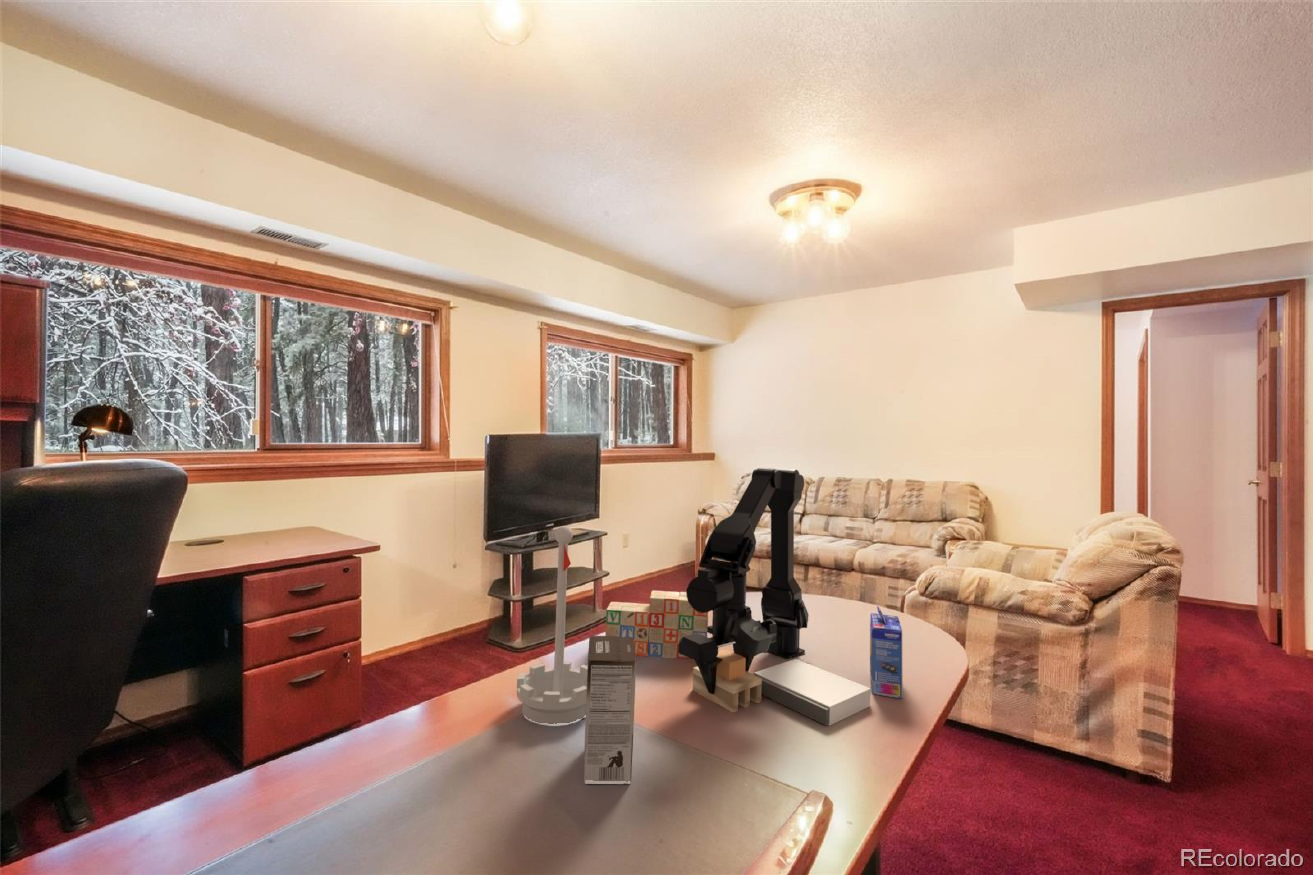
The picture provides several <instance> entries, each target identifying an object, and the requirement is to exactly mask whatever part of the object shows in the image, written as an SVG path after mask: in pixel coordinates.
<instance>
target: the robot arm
mask: <svg viewBox="0 0 1313 875" xmlns="http://www.w3.org/2000/svg"><path fill="white" fill-rule="evenodd" d="M804 487H805V479H804V476H803V475H802V474H800V471H799V470H798V469H791V468H790V469H788V468H772V467H771V468H763V467H762V468H761V467H759V468H755V469H753V471H752V473H751V480H750V481H749V484H748V485H747V487H746V488H745V491H744V492H743V494H742V495H741V498H740V499H739V501H738V503H737V505H736V506H735V508H734V511H733V512H732V513H731V515H729V516H728V517H726V518H724V519H723V520H720V521H719V523H717V525H716V526H715V528H713V530H712V532H711V534H710V535H709V536H708V540H707V541H706V544H705V547H704V549H703V553H702V556H701V558H700V561H699V564H698V567H699V569H698V570H697V576H696V577H694V578H692V580H690V581H689V583H688V585H687V588H686V590H685V592H686V595H687V599H688V602H689V604H690V605H691V606H692V608H693V609H695V610H696V611H698V612H701V613H706V612H708V613H709V612H711V611H712V621H711V622H712V623H711V625H708V627H707V634H710V635H711V637H708V636H707V637H705V636H703V635H701V634H698V633H696V634H692V635H687V636H683V637H682V638H681V639H680V640H679V652H678V653H680V654H682V655H684V656H686V657H688V658H690V659H689V660H691V661H694V662H695V664H696V665H697V666H696V667H698V668H699V670H700V673H701V675H702V678H703V680H704V683H705V685H706V687H707V690H708V692H709V693H710V694H714V692H715V686H716V672H717V665H718V664H719V663H720V662H721V661H722V660H723V659H721V658H719V657H717V655H718V651H719V649H720V648H723V647H727V646H731V645H732V650H733V651H732V652H733V653H735V654H737V655H740V656H742V657H744V658H746V664H745V671H747V672H749V670H750V667H751V665H752V663H753V660H754V658H755V657H756V656H758V655H760V654H766V653H768V652H770V653H772V654H774V655H776V656H779V657H782V658H783V659H790V658H793V657H796V656H800V655H802V654H805V653H806V650H805V649H803V648H800V636H801V635H800V634H801V633H800V631H801V629H807V628H808V623H809V616H810V615H809V612H808V610H807V609H808V608H806V604H805V602H804V600H803V593H802V588H801V587H800V585H799V583H798V582H797V579H796V578H795V576H794V575H795V574H794V571H795V569H794V568H795V564H794V561H795V559H794V558H795V557H794V555H795V554H794V548H795V546H794V545H795V544H794V543H795V542H794V540H795V539H794V537H795V536H794V535H795V532H794V531H795V528H794V526H795V524H794V523H795V522H794V521H795V519H794V518H795V514H794V513H795V512H794V511H795V509H796V508H797V506H798V504H799V502H800V501H801V499H802V498H803V497H802V496H803V495H802V494H803V491H804ZM767 506H768V509H769V511H770V579H769V580H768V582H767V583H766V584H765V586H763V588H762V589H761V600H760V606H761V607H760V608H761V614H762V622H761V620H759V619H757V620H755V619H753V616H752V613H753V612H752V609H751V606H747V604H746V603H747V602H746V600H747V599H746V598H747V572H750V571H751V567H750V563H751V561H752V558H753V555H754V554H755V552H756V545H757V539H756V535H755V531H756V529H757V526H758V524H759V522H760V521H761V518H762V517H763V515H764V512H765V510H766V509H767ZM713 558H714V559H713Z"/></svg>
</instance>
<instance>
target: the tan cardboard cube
mask: <svg viewBox="0 0 1313 875" xmlns="http://www.w3.org/2000/svg"><path fill="white" fill-rule="evenodd" d="M717 657H719V658H721V659H723V660H722V661H721V662H720V663H719V664H718V665H717V672H716V674H717V675H719V676H721V677H723V678H725V679H727V680H732V679H735V678H738V677H741V676H744V675H745V664H746V658H744V657H742V656H740V655H737V654H735V653H734V651H730V650H728V649H726V648H724V649H721V650H718V655H717Z"/></svg>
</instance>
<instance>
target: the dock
mask: <svg viewBox="0 0 1313 875" xmlns="http://www.w3.org/2000/svg"><path fill="white" fill-rule="evenodd" d="M753 674H754V675H756V676H758V677H760V678H762V688H761V695H762V696H765V697H766V698H769V699H772V700H773V701H775V702H778V703H780V704H781V705H784V706H786V707H788V708H789V709H792V710H794V711H795V712H798V713H800V714H802V715H804V716H807V717H808V718H811V719H812V720H814V721H817V722H819V723H821V724H823V725H825V726H829V727H830V726H832V725H833V724H836V723H838V722H840V721H842V720H845V719H846V718H849V717H850V716H853V715H854V714H857V713H859V712H862V711H863V710H865V709H868V708H869V707H871V694H872V692H871V687H868V686H866V685H863V684H860V683H858V682H855V681H853V680H850V679H848V678H846V677H843V676H840V675H838V674H835V673H832V672H830V671H827V670H825V669H823V668H820V667H816V666H814V665H812V664H809V663H806V662H804V661H802V660H799V659H797V658H794V659H791V660H787V661H784V662H782V663H779V664H776V665H773V666H769V667H767V668H764V669H761V670H758V671H755V672H753Z"/></svg>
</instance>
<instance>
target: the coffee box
mask: <svg viewBox="0 0 1313 875" xmlns="http://www.w3.org/2000/svg"><path fill="white" fill-rule="evenodd" d="M587 652H588V653H587V666H588V668H587V691H586V718H584V722H585V723H584V724H585V726H584V727H585V728H584V762H583V763H584V764H583V765H584V766H583V767H584V768H583V769H584V770H583V781H584V780H593V781H626V782H628V781H631V782H632V777H633V776H632V771H633V750H634V748H633V747H634V727H635V726H634V724H635V723H634V722H635V700H636V680H637V679H636V676H637V673H636V672H637V670H636V669H637V655H635V648H634V642H633V637H617V636H605V635H591V636H589V641H588V651H587Z"/></svg>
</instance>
